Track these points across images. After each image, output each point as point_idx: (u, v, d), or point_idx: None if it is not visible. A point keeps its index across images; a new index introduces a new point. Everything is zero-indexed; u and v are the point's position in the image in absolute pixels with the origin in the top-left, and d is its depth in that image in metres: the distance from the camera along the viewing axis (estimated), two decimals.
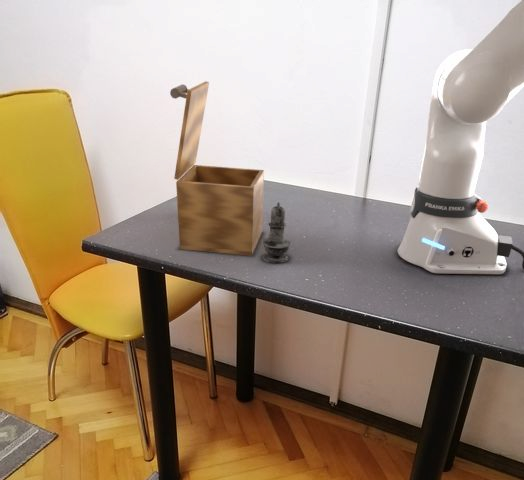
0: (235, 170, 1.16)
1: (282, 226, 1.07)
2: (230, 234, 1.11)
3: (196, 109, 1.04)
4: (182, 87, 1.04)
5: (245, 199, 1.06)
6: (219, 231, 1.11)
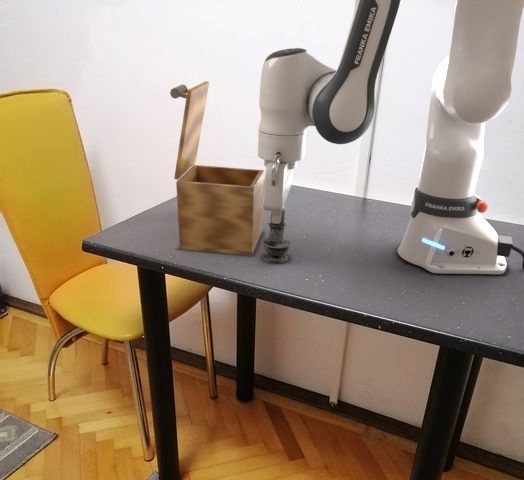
0: (235, 170, 1.16)
1: (282, 226, 1.07)
2: (230, 234, 1.11)
3: (196, 109, 1.04)
4: (182, 87, 1.04)
5: (245, 199, 1.06)
6: (219, 231, 1.11)
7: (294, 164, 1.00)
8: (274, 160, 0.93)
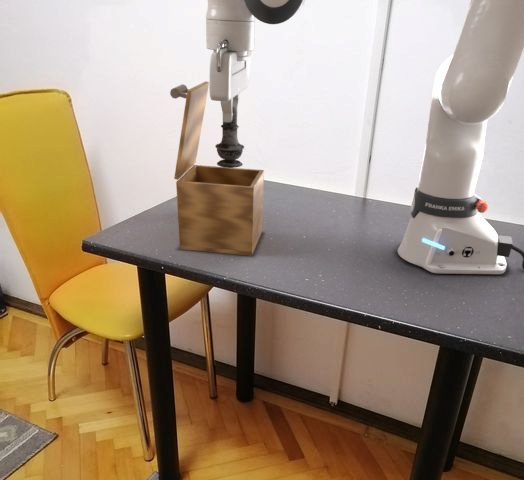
0: (235, 170, 1.16)
1: (234, 127, 1.05)
2: (230, 234, 1.11)
3: (196, 109, 1.04)
4: (182, 87, 1.04)
5: (245, 199, 1.06)
6: (219, 231, 1.11)
7: (243, 56, 0.97)
8: (219, 43, 0.90)
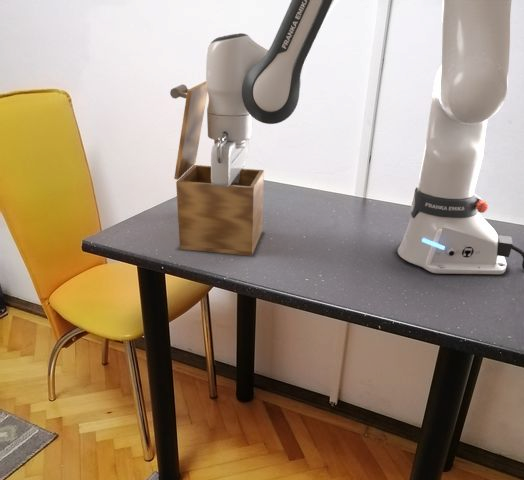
0: None
1: None
2: (230, 234, 1.11)
3: (196, 109, 1.04)
4: (182, 87, 1.04)
5: (245, 199, 1.06)
6: (219, 231, 1.11)
7: (242, 143, 1.06)
8: (219, 138, 0.99)
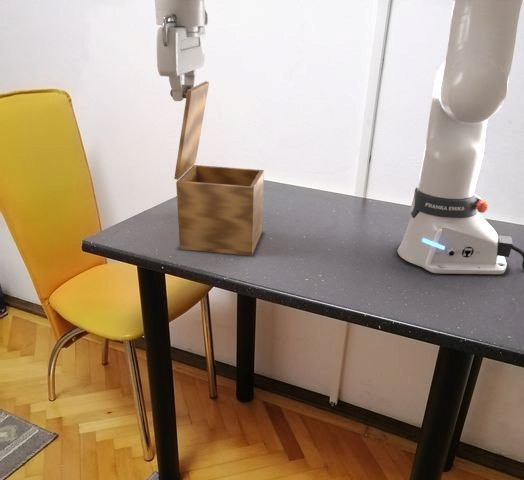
0: (235, 170, 1.16)
1: None
2: (230, 234, 1.11)
3: (196, 109, 1.04)
4: (182, 87, 1.04)
5: (245, 199, 1.06)
6: (219, 231, 1.11)
7: (193, 32, 0.97)
8: (164, 17, 0.90)
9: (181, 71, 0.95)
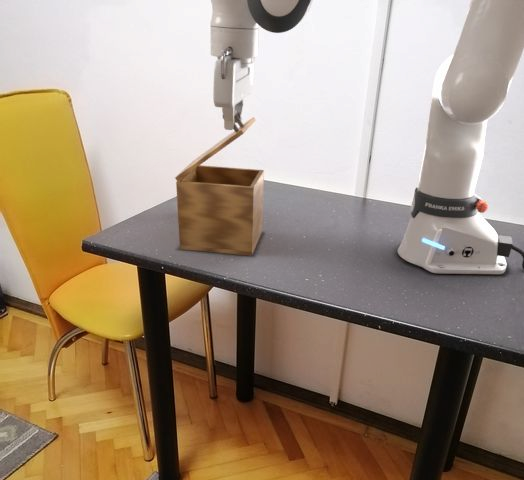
0: (235, 170, 1.16)
1: None
2: (230, 234, 1.11)
3: None
4: (235, 113, 1.05)
5: (245, 199, 1.06)
6: (219, 231, 1.11)
7: (247, 63, 0.98)
8: (223, 51, 0.91)
9: (235, 102, 0.97)
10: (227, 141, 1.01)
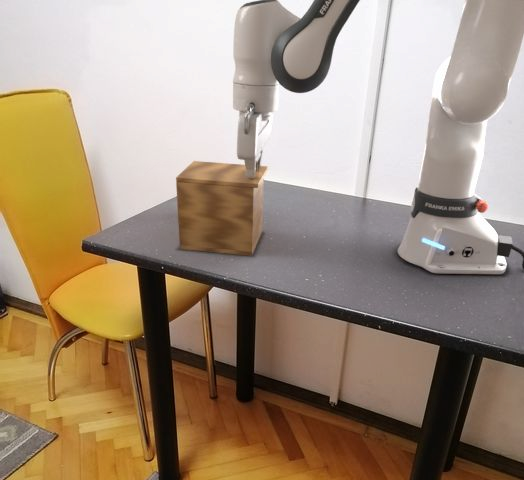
0: None
1: None
2: (230, 234, 1.11)
3: None
4: (258, 159, 1.09)
5: (245, 199, 1.06)
6: (219, 231, 1.11)
7: (268, 116, 1.02)
8: (247, 108, 0.95)
9: (257, 154, 1.01)
10: (240, 183, 1.05)
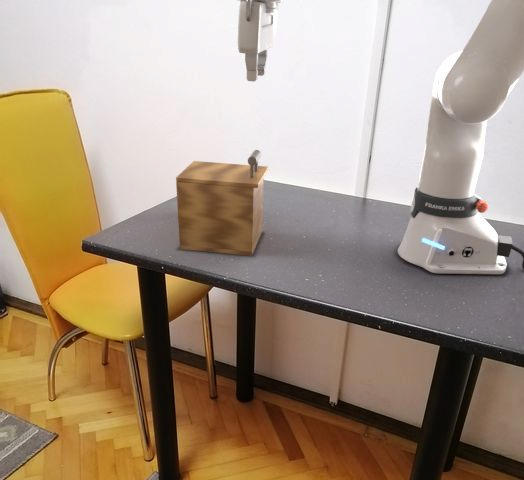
0: None
1: None
2: (230, 234, 1.11)
3: None
4: (258, 159, 1.09)
5: (245, 199, 1.06)
6: (219, 231, 1.11)
7: (272, 8, 0.93)
8: None
9: (260, 48, 0.91)
10: (240, 184, 1.05)
